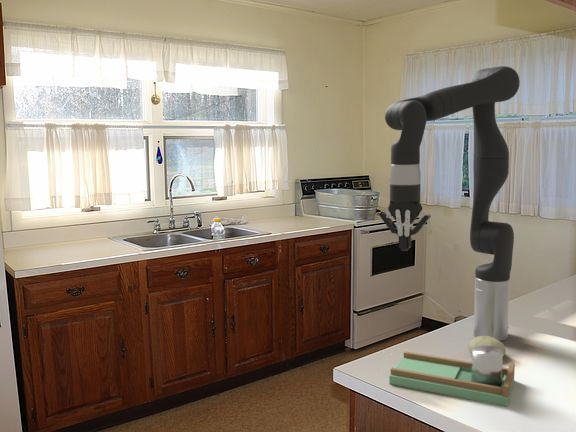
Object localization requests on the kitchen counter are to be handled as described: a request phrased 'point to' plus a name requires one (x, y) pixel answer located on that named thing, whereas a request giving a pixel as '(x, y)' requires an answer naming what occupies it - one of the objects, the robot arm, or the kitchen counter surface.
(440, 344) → the kitchen counter surface
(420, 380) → the green railed board
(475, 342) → the sea urchin shell
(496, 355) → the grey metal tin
